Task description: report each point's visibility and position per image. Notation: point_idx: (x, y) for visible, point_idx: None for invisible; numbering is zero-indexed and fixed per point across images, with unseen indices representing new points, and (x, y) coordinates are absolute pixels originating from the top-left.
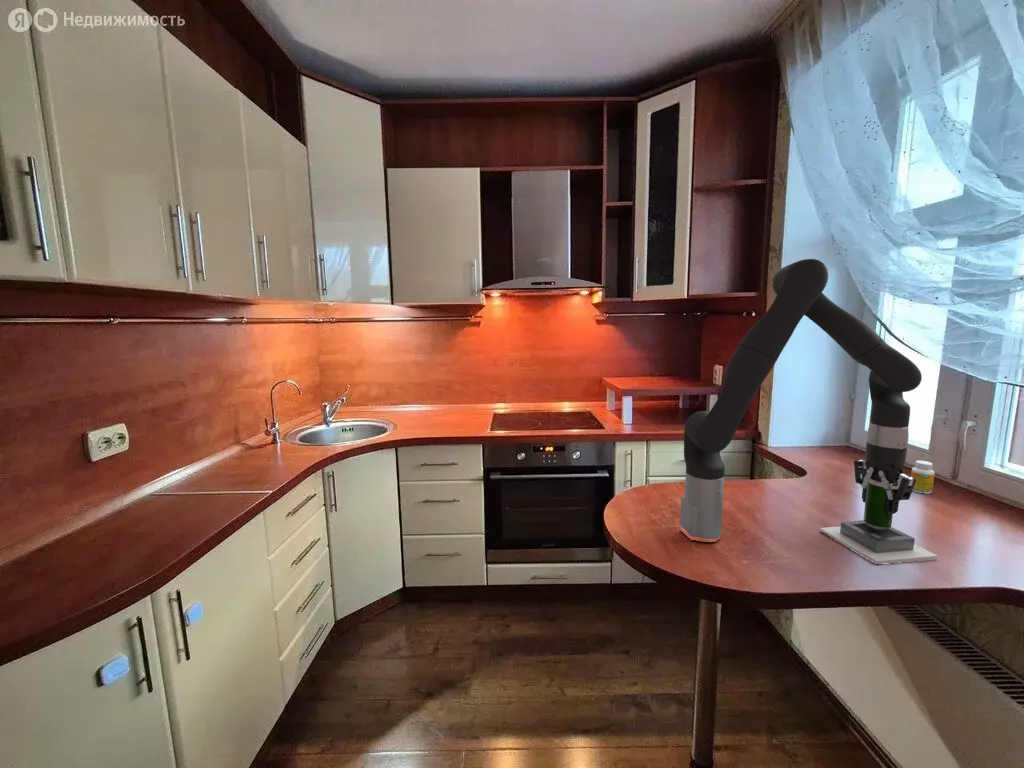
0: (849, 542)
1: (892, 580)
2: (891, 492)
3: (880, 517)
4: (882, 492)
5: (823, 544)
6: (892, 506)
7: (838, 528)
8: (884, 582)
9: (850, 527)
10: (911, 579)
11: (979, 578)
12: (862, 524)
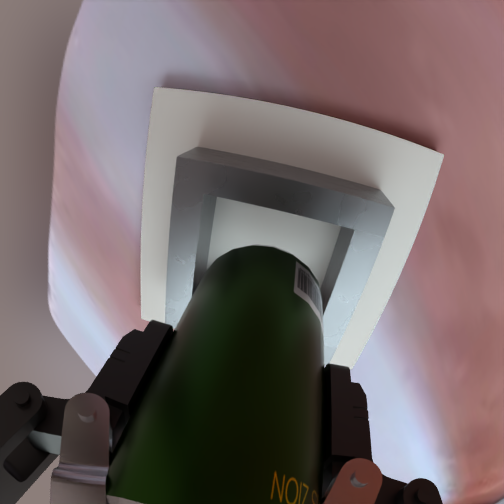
0: (303, 131)
1: (90, 56)
2: (63, 448)
3: (202, 289)
4: (130, 444)
5: (355, 45)
6: (112, 361)
7: (405, 225)
8: (92, 23)
9: (337, 190)
10: (80, 120)
11: (71, 295)
12: (333, 284)
